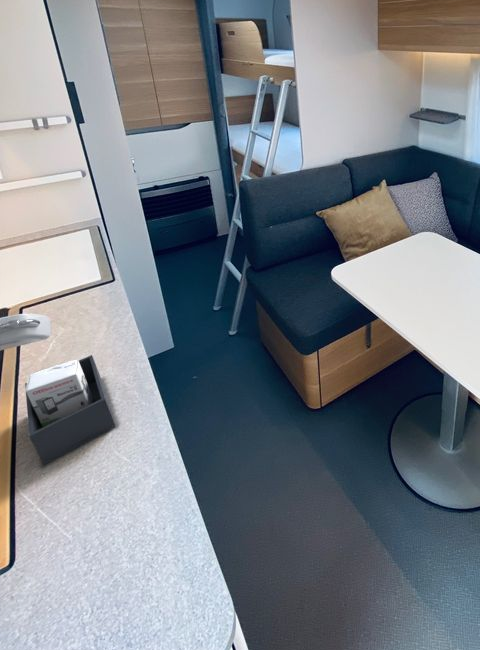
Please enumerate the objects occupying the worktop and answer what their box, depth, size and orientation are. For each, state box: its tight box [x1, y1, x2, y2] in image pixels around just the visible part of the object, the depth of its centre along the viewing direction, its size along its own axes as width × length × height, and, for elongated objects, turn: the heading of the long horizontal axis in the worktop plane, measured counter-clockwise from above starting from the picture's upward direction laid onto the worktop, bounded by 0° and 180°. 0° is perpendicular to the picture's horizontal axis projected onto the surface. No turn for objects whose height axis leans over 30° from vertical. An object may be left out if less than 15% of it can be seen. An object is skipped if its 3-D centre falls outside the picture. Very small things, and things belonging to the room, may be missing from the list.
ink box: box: [25, 359, 93, 428], centre depth 85 cm, size 9×5×12 cm, turn 120°
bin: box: [24, 354, 116, 465], centre depth 86 cm, size 16×12×8 cm
